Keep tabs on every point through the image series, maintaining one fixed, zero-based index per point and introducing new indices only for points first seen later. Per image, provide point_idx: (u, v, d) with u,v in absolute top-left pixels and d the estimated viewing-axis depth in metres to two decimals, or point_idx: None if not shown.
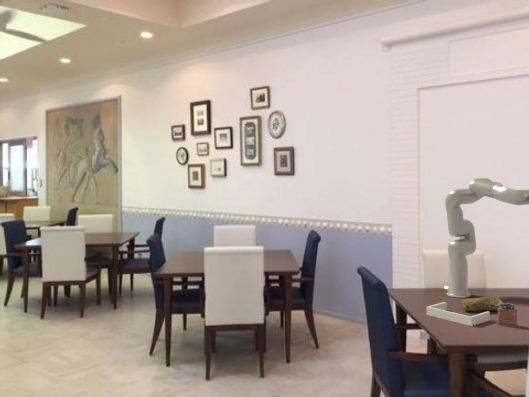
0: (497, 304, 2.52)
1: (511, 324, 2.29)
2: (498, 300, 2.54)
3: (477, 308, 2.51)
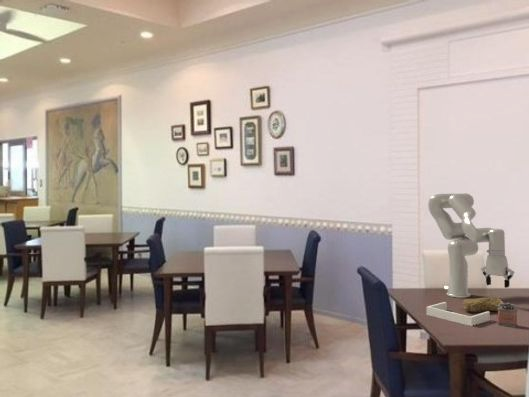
0: (498, 304, 2.51)
1: (511, 324, 2.29)
2: (499, 300, 2.53)
3: (478, 309, 2.50)
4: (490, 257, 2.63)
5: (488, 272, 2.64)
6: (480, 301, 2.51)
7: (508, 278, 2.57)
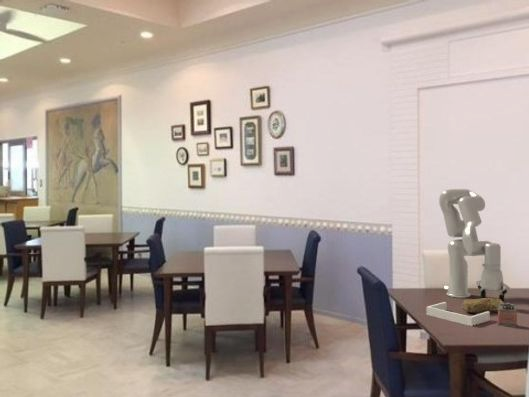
0: (498, 305, 2.49)
1: (511, 324, 2.29)
2: (499, 301, 2.52)
3: (479, 309, 2.48)
4: (485, 271, 2.61)
5: (483, 286, 2.62)
6: (480, 302, 2.49)
7: (503, 293, 2.56)
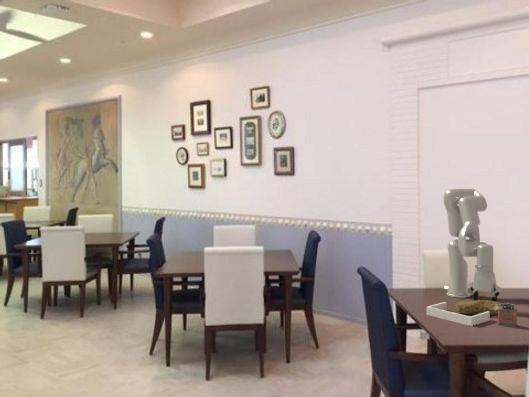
0: (492, 308, 2.45)
1: (511, 324, 2.29)
2: (494, 304, 2.47)
3: (470, 311, 2.45)
4: (478, 273, 2.57)
5: (476, 288, 2.58)
6: (473, 303, 2.47)
7: (496, 295, 2.52)
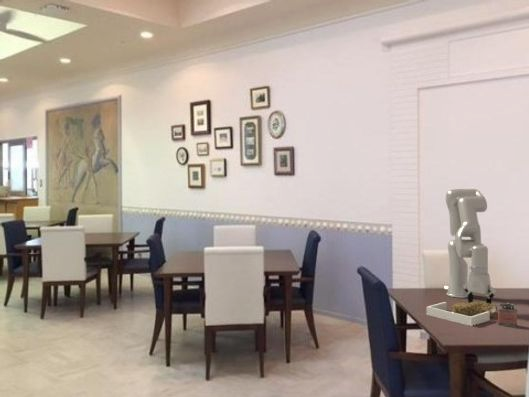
0: (489, 310, 2.41)
1: (511, 324, 2.29)
2: (492, 306, 2.43)
3: (467, 313, 2.43)
4: (472, 274, 2.54)
5: (470, 289, 2.55)
6: (469, 305, 2.43)
7: (490, 297, 2.49)
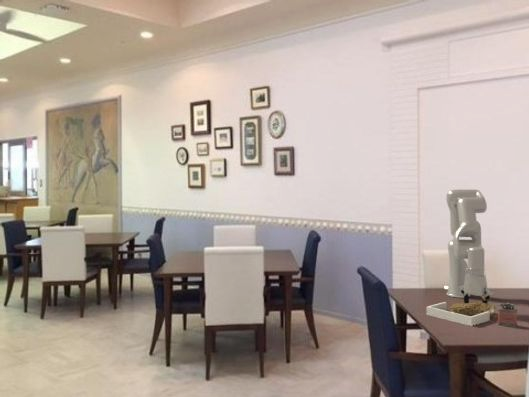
0: (488, 310, 2.40)
1: (511, 324, 2.29)
2: (490, 306, 2.42)
3: (465, 313, 2.41)
4: (469, 276, 2.53)
5: (466, 291, 2.54)
6: (468, 306, 2.42)
7: (486, 299, 2.48)
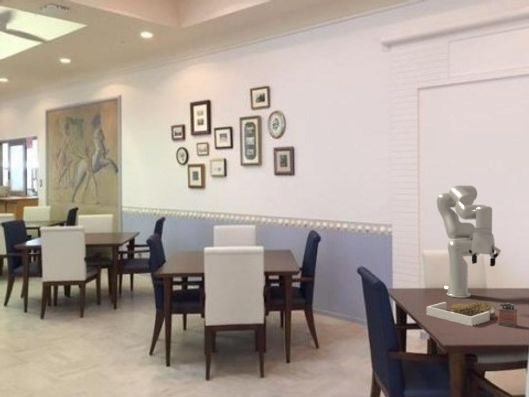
0: None
1: (511, 324, 2.29)
2: (490, 306, 2.42)
3: (466, 314, 2.41)
4: (477, 235, 2.55)
5: (474, 250, 2.57)
6: (468, 306, 2.42)
7: (494, 257, 2.50)
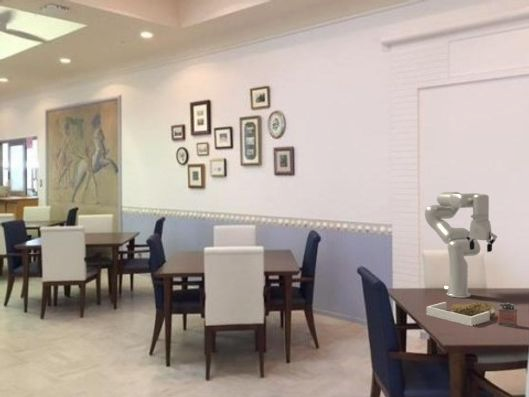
0: None
1: (511, 324, 2.29)
2: (490, 306, 2.42)
3: (466, 314, 2.41)
4: (474, 222, 2.66)
5: (472, 237, 2.67)
6: (469, 306, 2.42)
7: (491, 242, 2.61)
